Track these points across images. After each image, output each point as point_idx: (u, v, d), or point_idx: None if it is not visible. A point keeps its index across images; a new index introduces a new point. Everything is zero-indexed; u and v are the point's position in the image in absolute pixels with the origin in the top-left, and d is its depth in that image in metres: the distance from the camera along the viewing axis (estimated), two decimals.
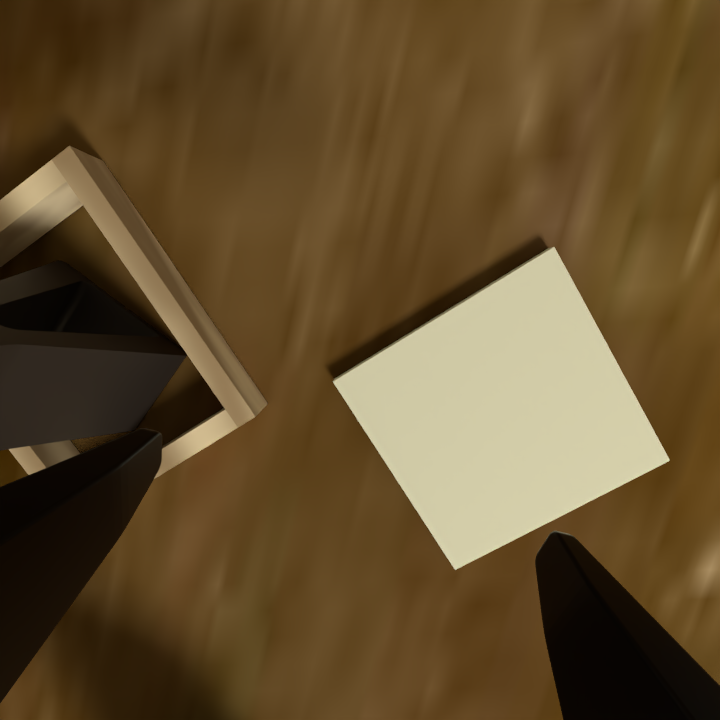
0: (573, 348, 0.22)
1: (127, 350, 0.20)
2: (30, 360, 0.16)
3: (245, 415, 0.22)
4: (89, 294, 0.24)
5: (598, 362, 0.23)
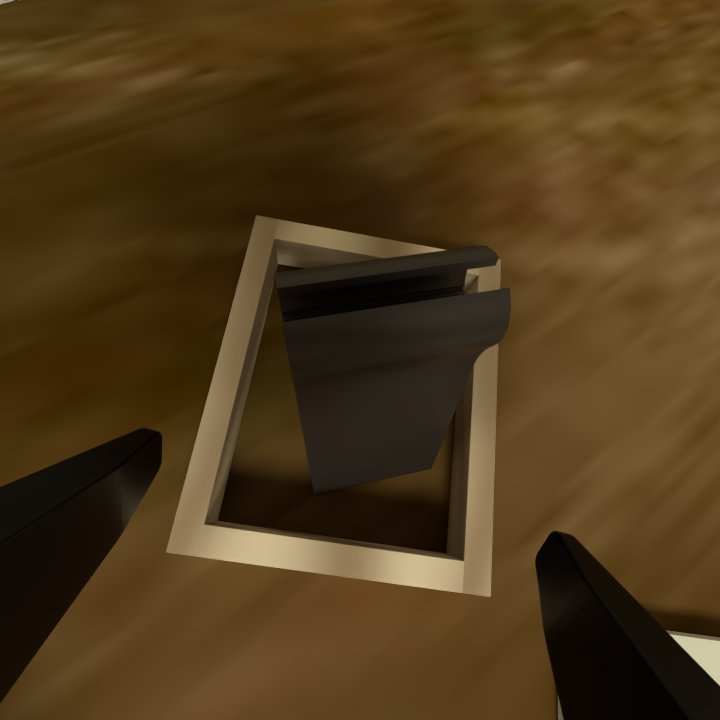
0: None
1: (445, 429, 0.17)
2: (449, 378, 0.14)
3: (480, 586, 0.17)
4: None
5: None
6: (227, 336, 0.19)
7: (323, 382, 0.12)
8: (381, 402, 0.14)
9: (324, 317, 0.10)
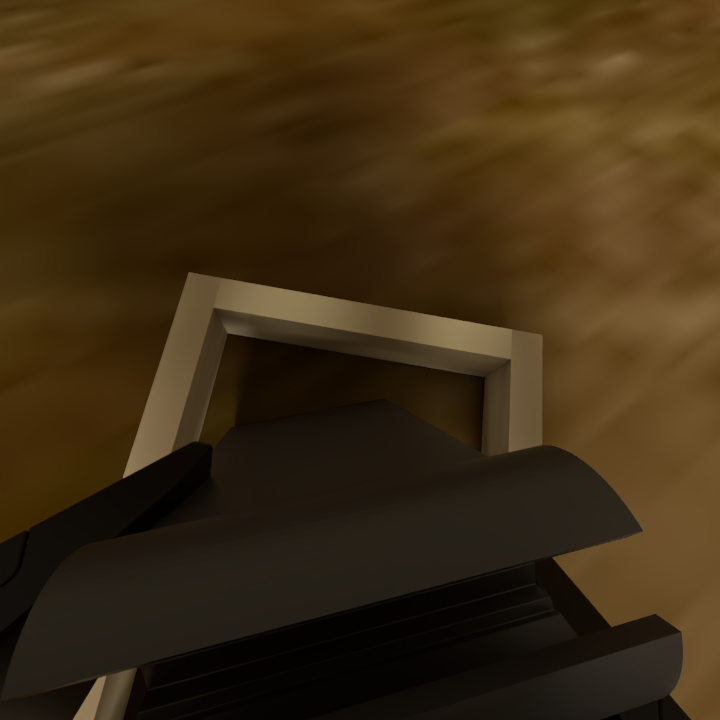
0: None
1: None
2: None
3: None
4: None
5: None
6: (131, 467, 0.13)
7: None
8: None
9: None
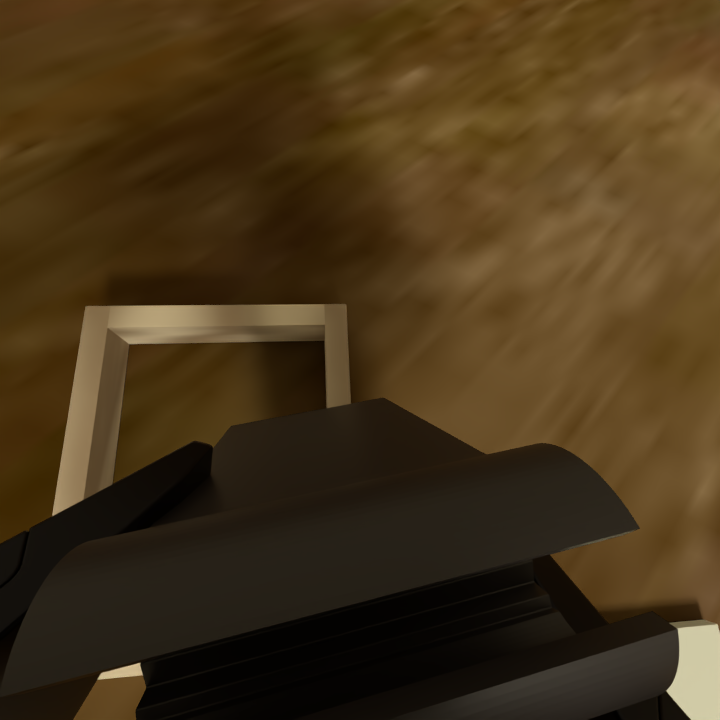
0: None
1: None
2: None
3: None
4: None
5: None
6: (66, 443, 0.19)
7: None
8: None
9: None
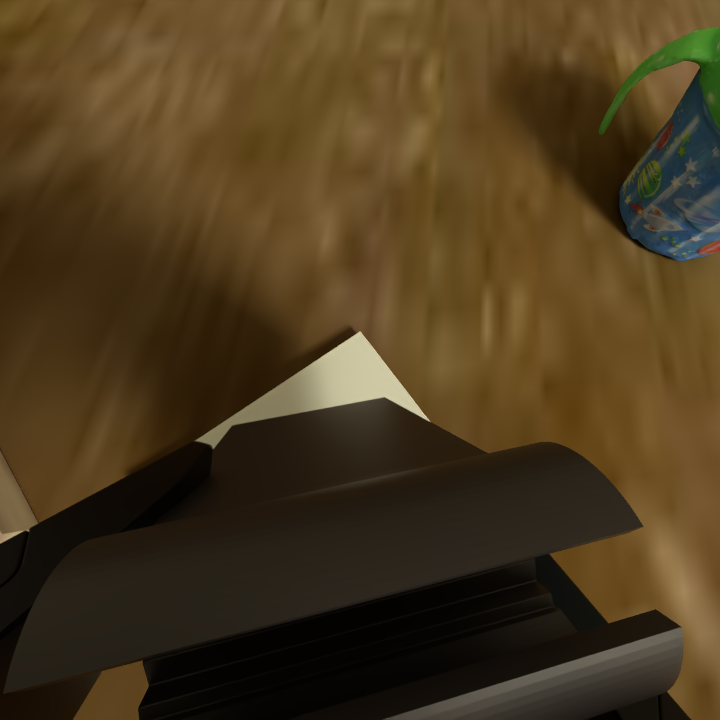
0: None
1: None
2: None
3: None
4: None
5: None
6: None
7: None
8: None
9: None
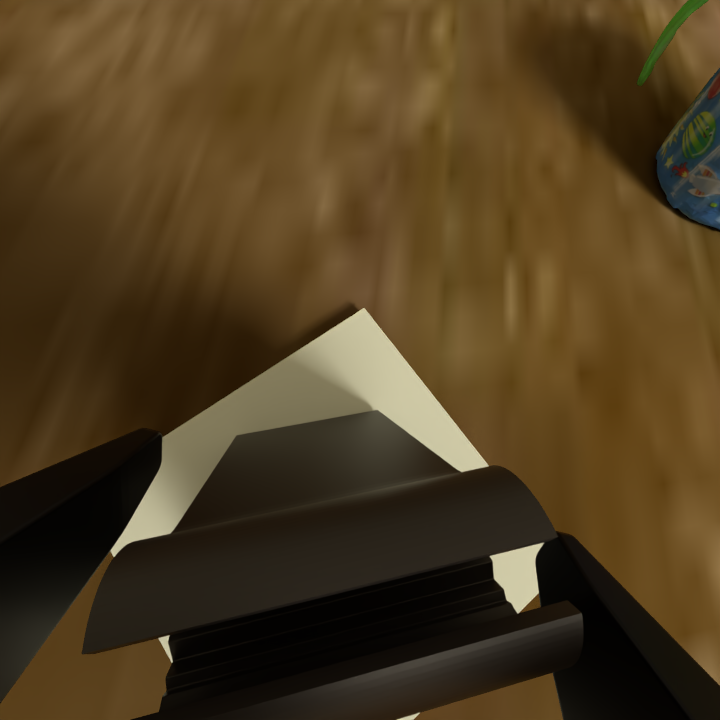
0: (407, 417, 0.18)
1: None
2: None
3: None
4: None
5: (440, 434, 0.18)
6: None
7: None
8: None
9: None
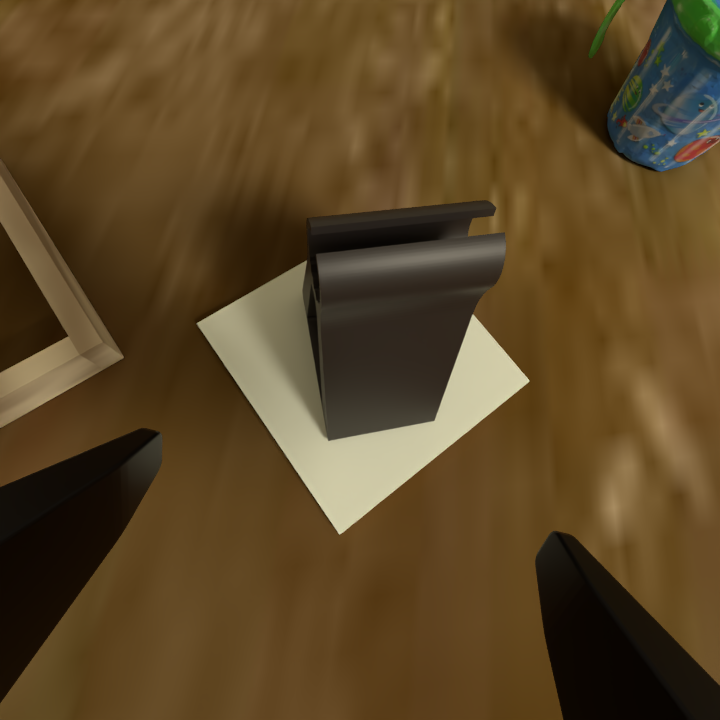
0: None
1: None
2: (452, 322, 0.16)
3: (91, 341, 0.21)
4: None
5: None
6: None
7: (345, 317, 0.14)
8: (393, 343, 0.16)
9: (350, 251, 0.12)
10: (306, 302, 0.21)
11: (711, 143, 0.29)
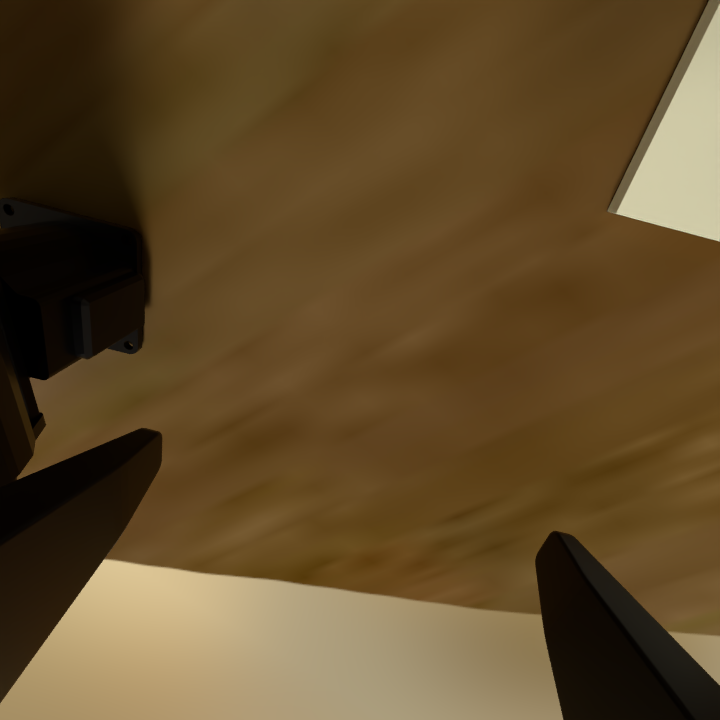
0: None
1: None
2: None
3: None
4: None
5: None
6: None
7: None
8: None
9: None
10: None
11: None
